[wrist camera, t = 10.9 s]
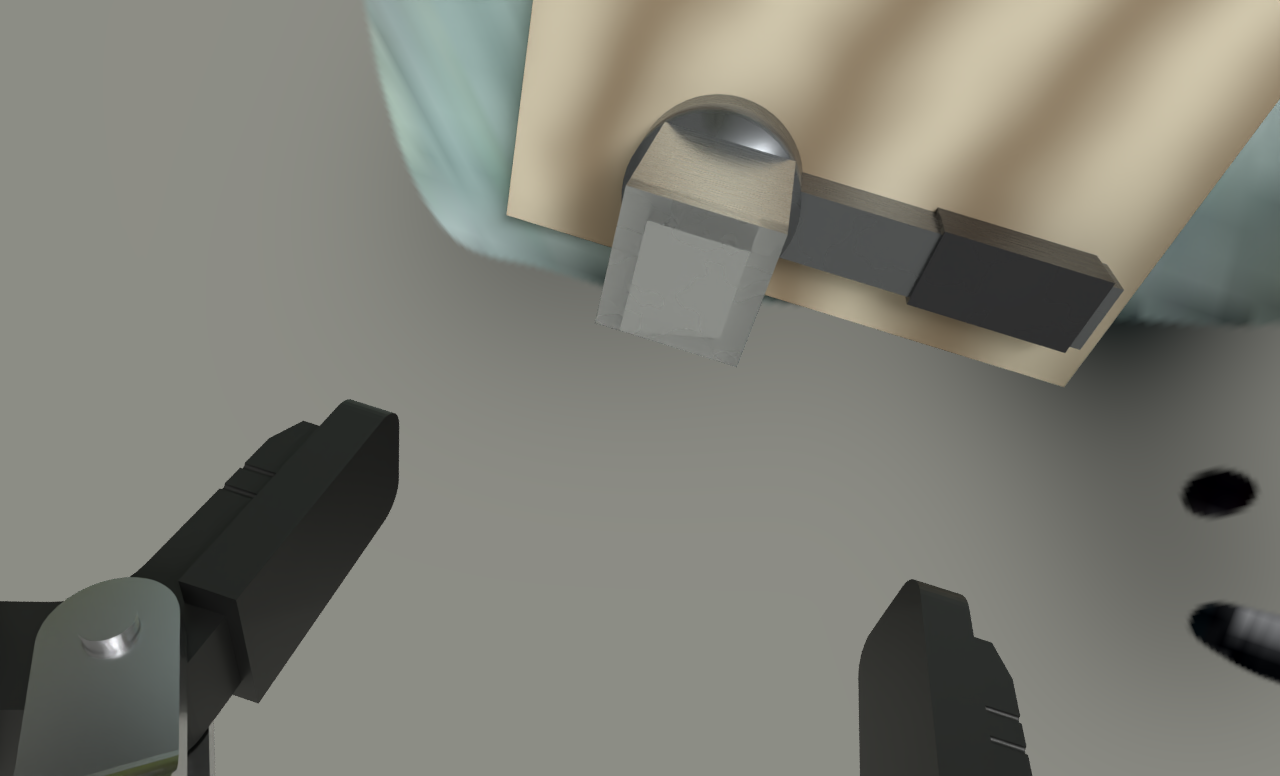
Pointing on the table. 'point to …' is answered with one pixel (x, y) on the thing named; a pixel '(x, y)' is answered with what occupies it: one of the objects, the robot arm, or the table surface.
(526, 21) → the table surface
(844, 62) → the board
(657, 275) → the grey pocketed block
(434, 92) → the table surface
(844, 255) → the ratchet
